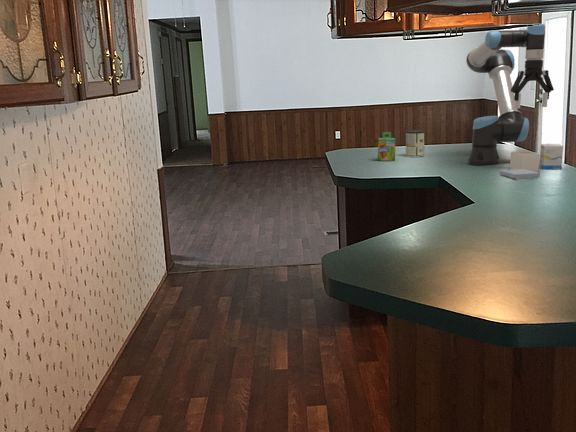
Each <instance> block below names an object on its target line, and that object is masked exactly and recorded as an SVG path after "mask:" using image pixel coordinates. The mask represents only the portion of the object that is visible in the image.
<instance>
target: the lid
mask: <svg viewBox="0 0 576 432" xmlns="http://www.w3.org/2000/svg"><path fill="white" fill-rule="evenodd" d="M498 174H499V175H500V176H502V175H504V176H503V177H505V176H508V177H507V178H509V177H511V178H510V179H512V178H516V179H515V181H518V180H531V181H533V180H535V179H537V178H539V177H541V176H540V175H541V172H539V171H538V172H534V171H530V170H526V169H514V170H510V169H500V170H499V171H498Z"/></svg>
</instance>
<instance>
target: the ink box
mask: <svg viewBox="0 0 576 432" xmlns="http://www.w3.org/2000/svg"><path fill="white" fill-rule="evenodd" d="M539 150H540V152H539V169H541V170H543V171H545V170H547V171H548V170H549V171H551V170H552V171H553V170H554V171H555V170H557V171H558V170H559V171H561V170H562V169H563V167H562V166H563V153H564V146H563V145H562V144H561V143H541V144H540V149H539Z"/></svg>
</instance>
